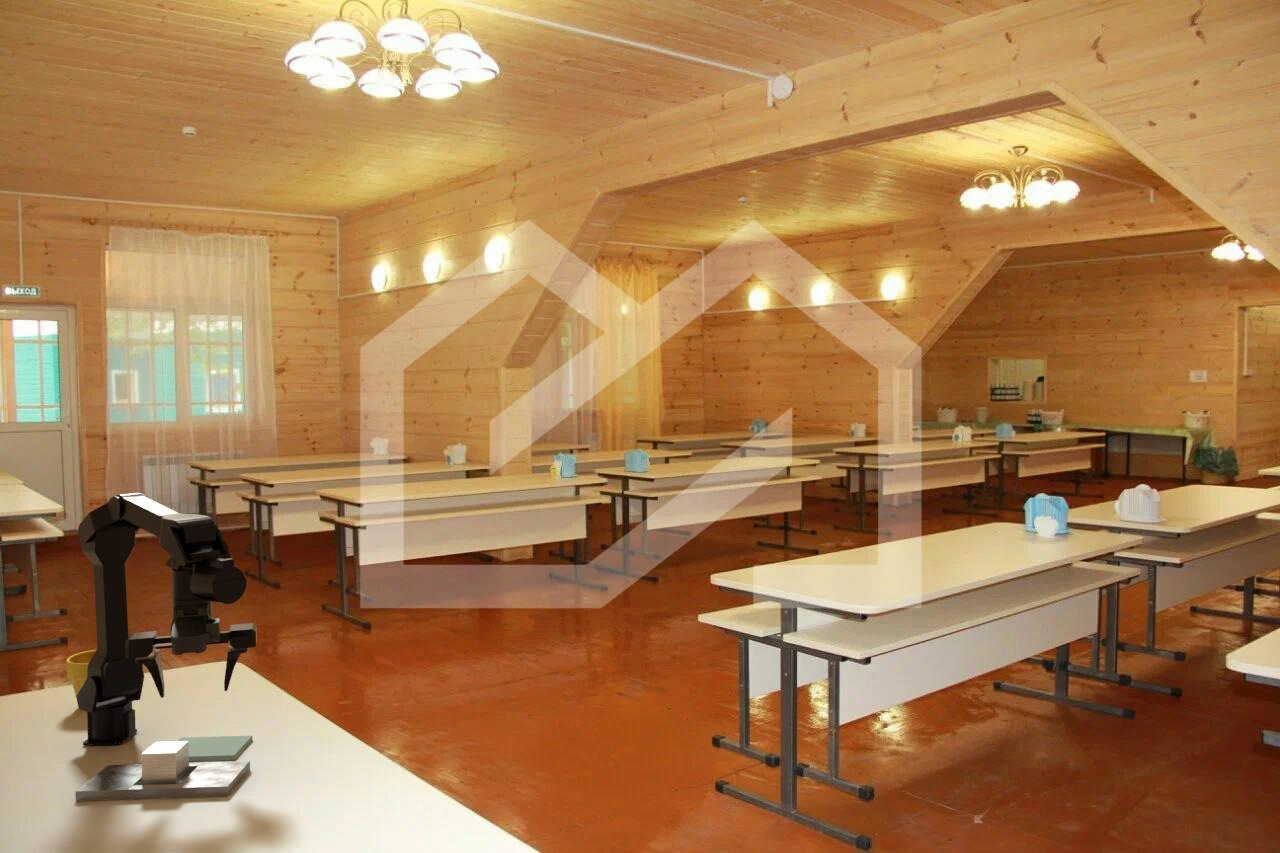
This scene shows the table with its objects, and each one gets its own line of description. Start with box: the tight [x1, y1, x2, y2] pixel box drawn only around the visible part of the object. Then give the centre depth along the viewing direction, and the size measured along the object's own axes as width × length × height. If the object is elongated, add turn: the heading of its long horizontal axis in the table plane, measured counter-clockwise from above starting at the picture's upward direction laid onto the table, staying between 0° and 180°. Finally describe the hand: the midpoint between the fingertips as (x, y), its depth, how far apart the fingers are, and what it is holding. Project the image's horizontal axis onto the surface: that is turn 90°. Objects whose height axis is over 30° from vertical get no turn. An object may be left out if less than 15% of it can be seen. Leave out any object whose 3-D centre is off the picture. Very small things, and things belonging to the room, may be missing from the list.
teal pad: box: [177, 735, 253, 762], centre depth 163 cm, size 12×9×1 cm
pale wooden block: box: [141, 740, 190, 785], centre depth 149 cm, size 5×5×6 cm
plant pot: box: [65, 649, 97, 711], centre depth 186 cm, size 10×10×10 cm
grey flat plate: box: [75, 760, 251, 802], centre depth 149 cm, size 22×10×2 cm, turn 94°
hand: (194, 693), depth 153 cm, fingers open, 9 cm apart
